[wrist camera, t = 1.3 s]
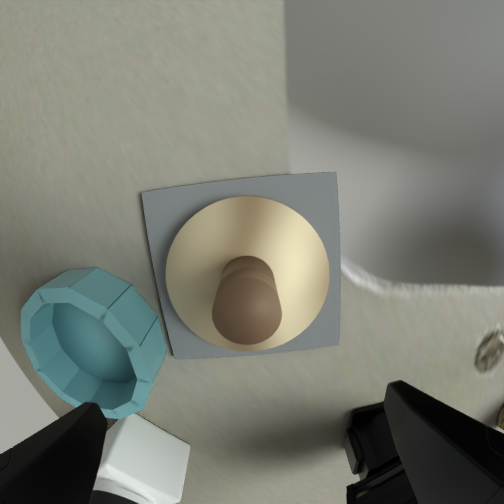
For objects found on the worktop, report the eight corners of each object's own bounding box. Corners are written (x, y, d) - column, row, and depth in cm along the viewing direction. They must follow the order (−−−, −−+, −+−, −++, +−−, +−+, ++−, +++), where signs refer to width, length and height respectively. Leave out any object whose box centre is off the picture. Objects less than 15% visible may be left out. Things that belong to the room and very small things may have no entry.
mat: (334, 171, 17) (336, 171, 17) (337, 341, 20) (338, 344, 20) (143, 191, 18) (141, 192, 17) (175, 356, 21) (174, 359, 20)
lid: (321, 188, 17) (351, 195, 12) (326, 335, 20) (347, 383, 14) (158, 206, 17) (122, 219, 12) (185, 347, 20) (168, 398, 15)
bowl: (146, 262, 19) (123, 283, 15) (178, 389, 22) (168, 423, 18) (33, 273, 19) (3, 290, 15) (73, 381, 22) (54, 407, 18)
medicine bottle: (103, 434, 24) (64, 518, 12) (129, 407, 22) (84, 510, 11) (158, 466, 25) (136, 551, 13) (192, 444, 24) (174, 548, 12)
